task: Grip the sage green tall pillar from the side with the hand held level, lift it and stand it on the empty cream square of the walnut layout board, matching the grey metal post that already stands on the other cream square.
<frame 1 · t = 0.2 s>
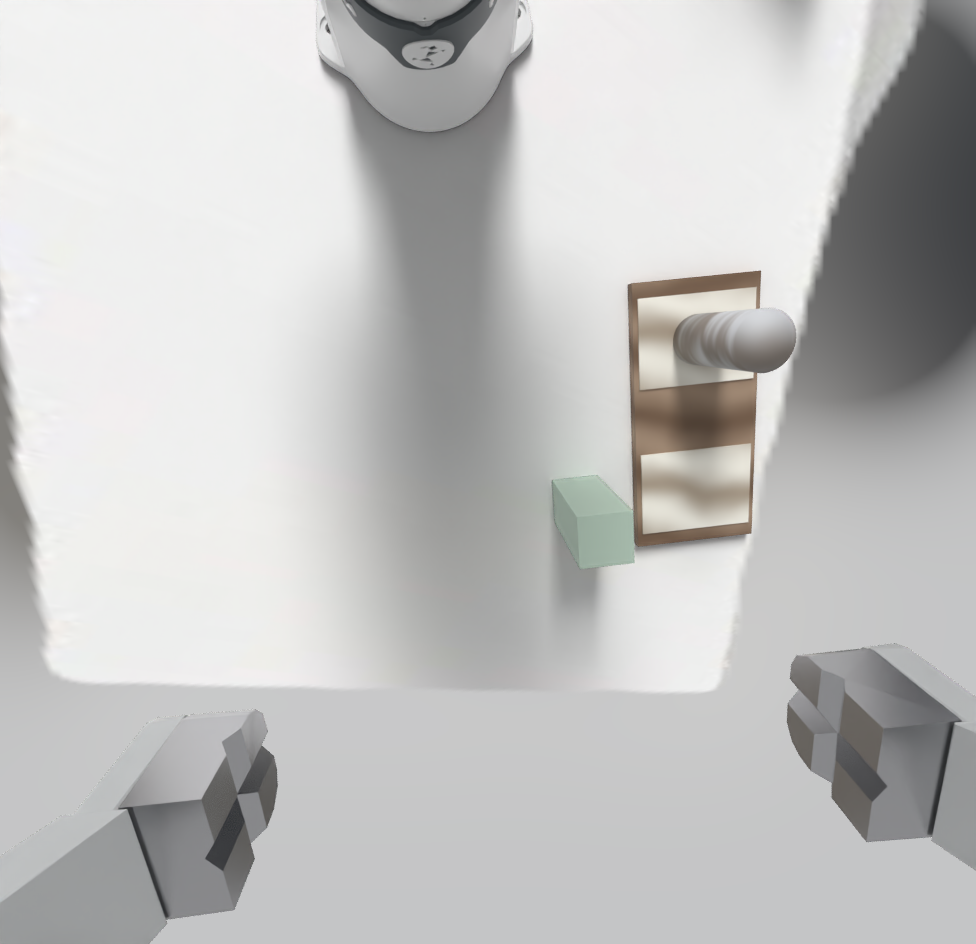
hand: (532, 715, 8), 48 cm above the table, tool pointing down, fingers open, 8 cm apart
layout board: (690, 415, 56), on the table
sage green tall pillar: (575, 499, 58), on the table
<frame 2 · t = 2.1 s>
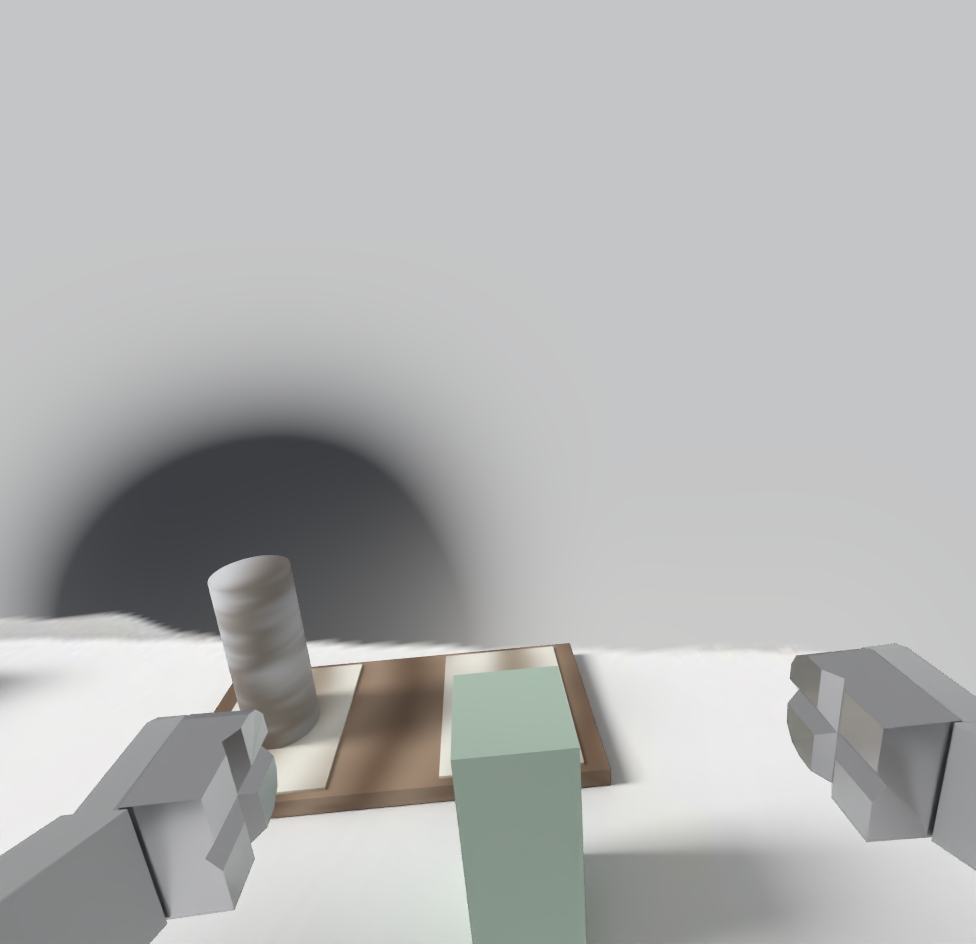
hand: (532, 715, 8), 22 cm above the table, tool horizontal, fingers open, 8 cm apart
layout board: (397, 727, 38), on the table
sage green tall pillar: (525, 909, 26), on the table
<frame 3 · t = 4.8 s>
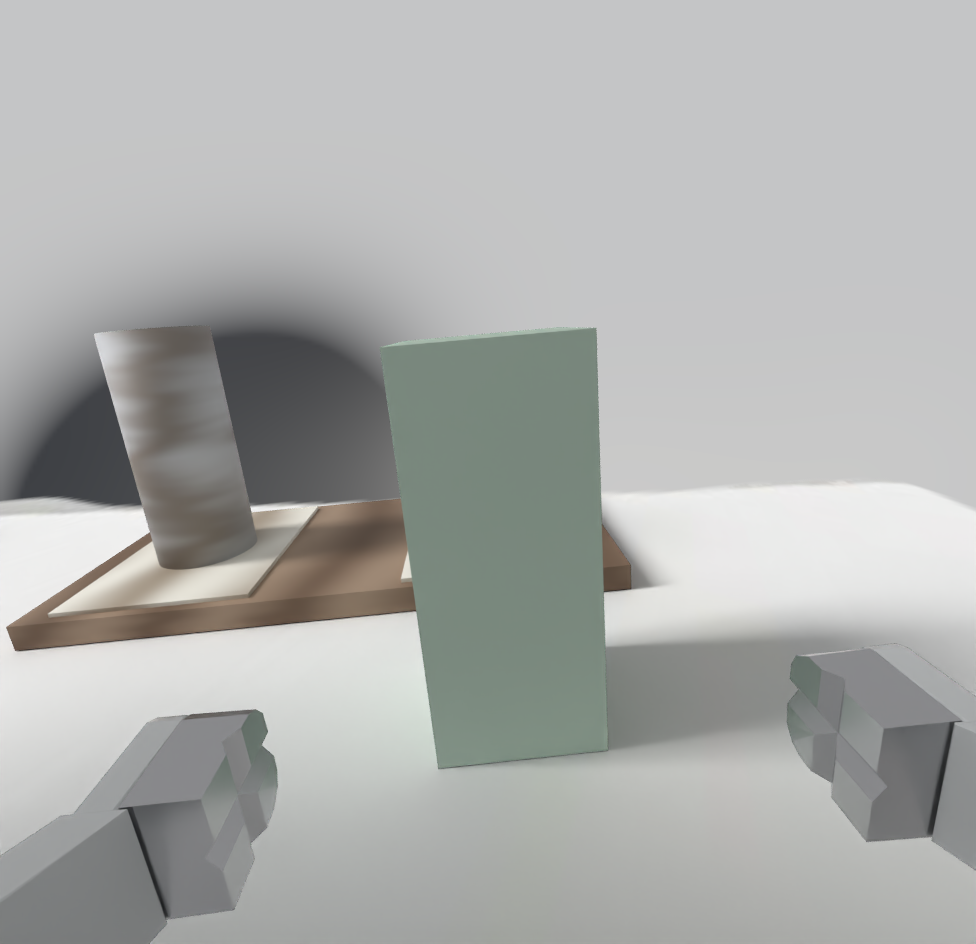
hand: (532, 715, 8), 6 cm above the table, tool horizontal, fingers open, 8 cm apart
layout board: (355, 557, 30), on the table
sage green tall pillar: (515, 700, 18), on the table
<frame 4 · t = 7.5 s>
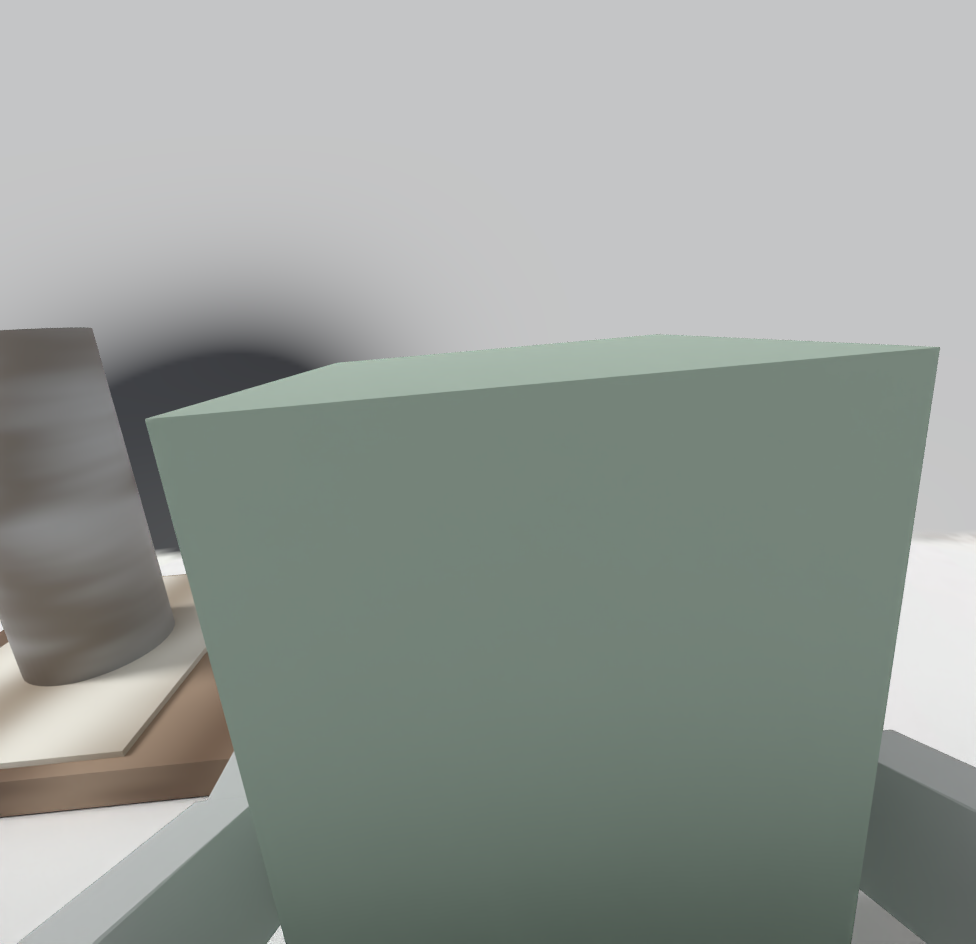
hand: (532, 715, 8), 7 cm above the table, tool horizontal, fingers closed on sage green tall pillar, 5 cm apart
layout board: (310, 654, 21), on the table
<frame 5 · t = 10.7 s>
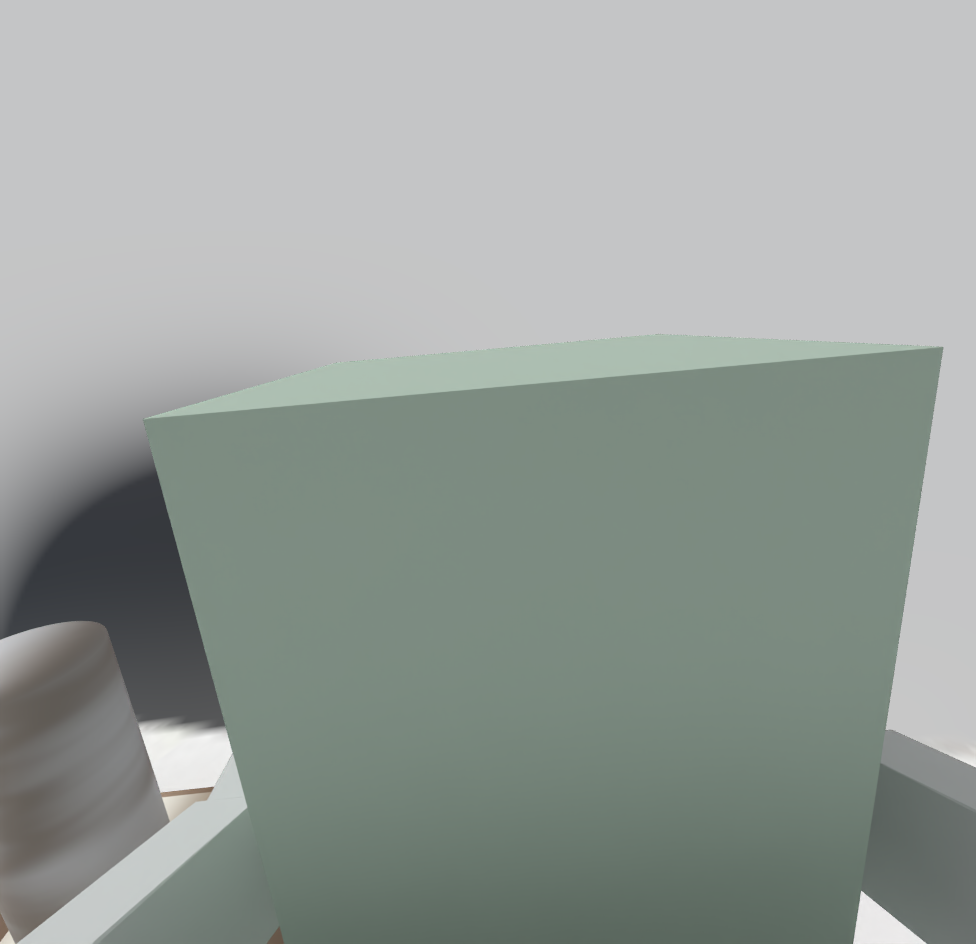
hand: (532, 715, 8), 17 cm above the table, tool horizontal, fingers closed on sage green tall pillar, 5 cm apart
layout board: (330, 928, 21), on the table
when the fingers open (9 cm above the table, at t = 14.0 s): sage green tall pillar drops 1 cm, resting on layout board.
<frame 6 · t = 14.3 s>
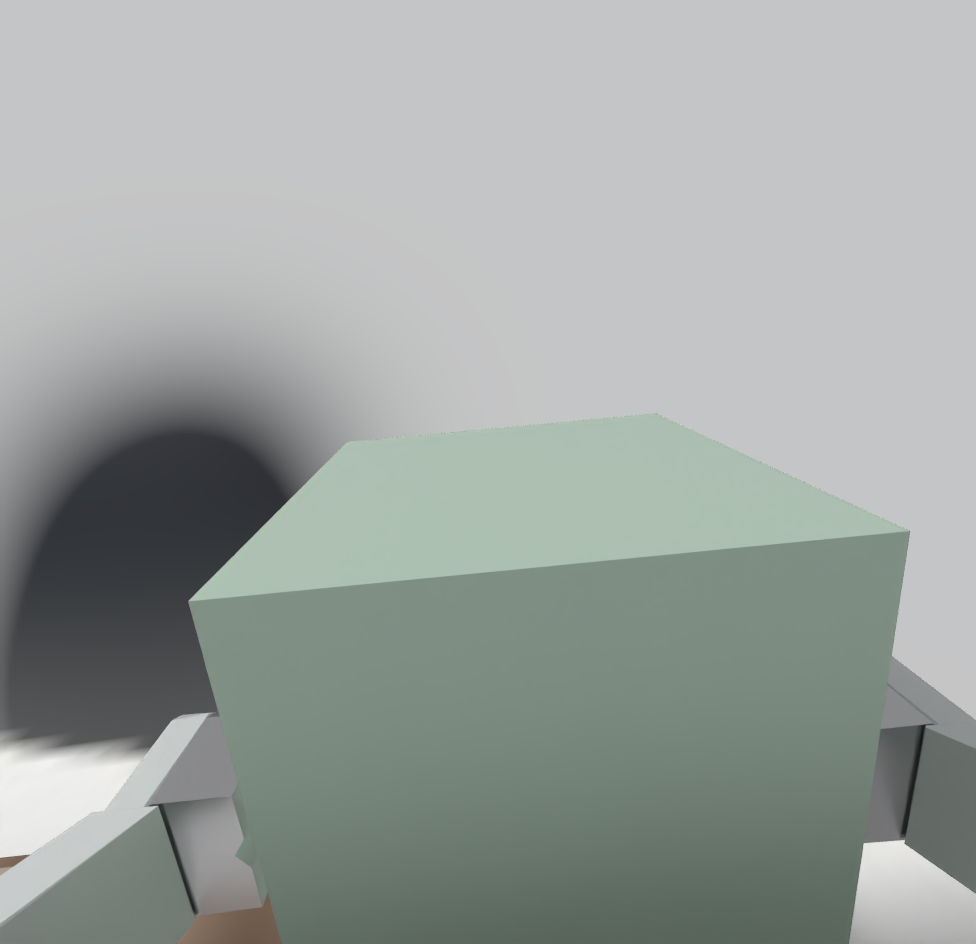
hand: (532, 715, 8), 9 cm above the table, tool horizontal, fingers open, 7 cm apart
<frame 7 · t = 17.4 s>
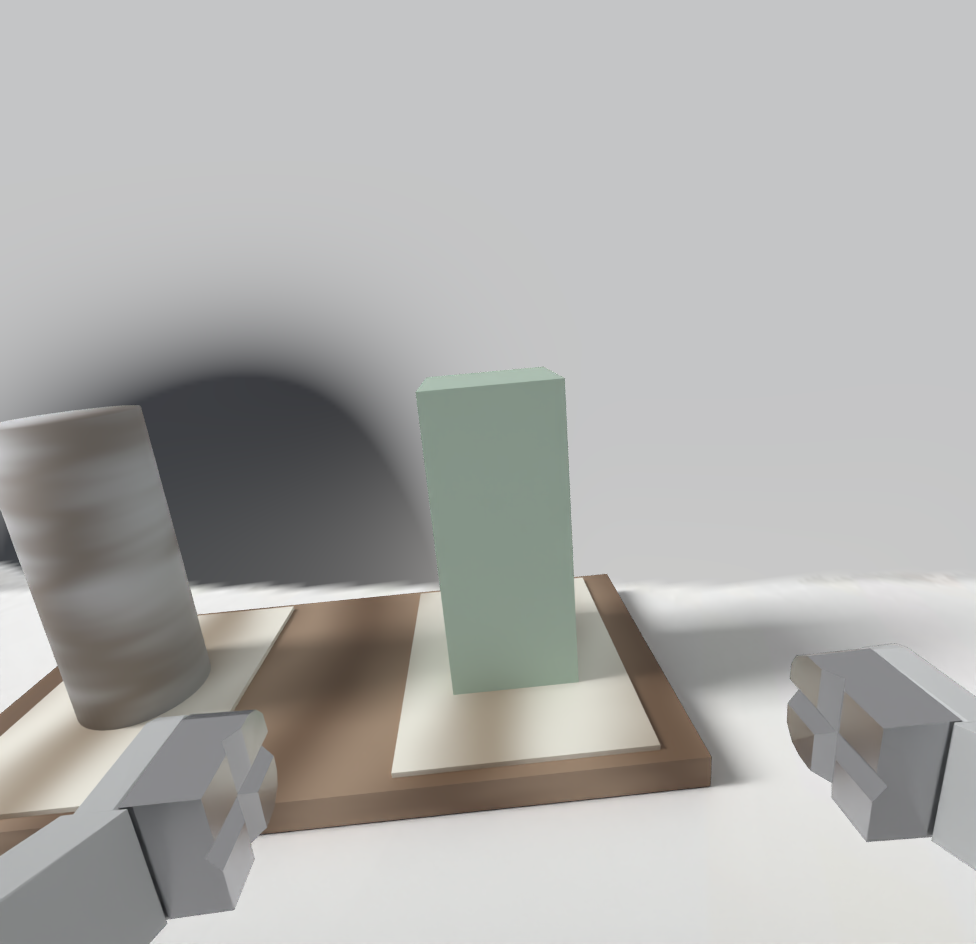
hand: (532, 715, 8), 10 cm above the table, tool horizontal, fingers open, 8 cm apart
layout board: (335, 695, 23), on the table
sage green tall pillar: (510, 650, 23), point 1 cm above the table, touching layout board
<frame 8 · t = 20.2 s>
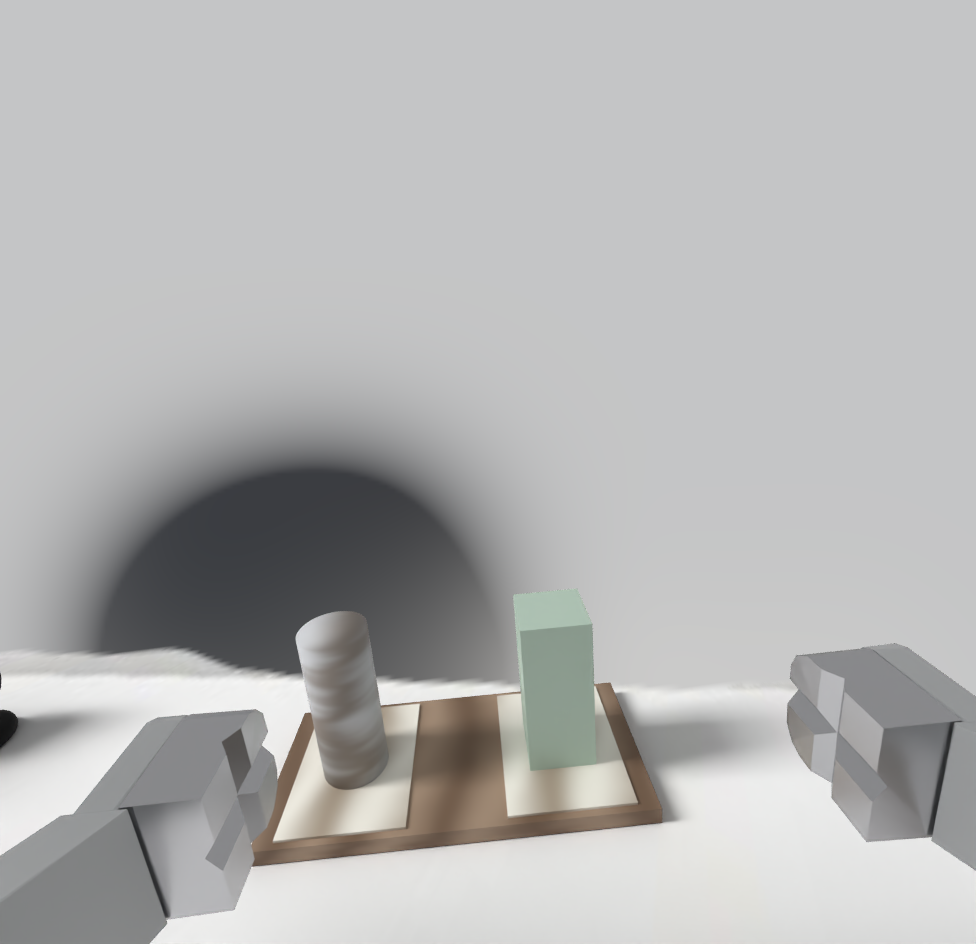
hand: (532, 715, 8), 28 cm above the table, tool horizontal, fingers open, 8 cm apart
layout board: (459, 766, 42), on the table
sage green tall pillar: (557, 741, 41), point 1 cm above the table, touching layout board
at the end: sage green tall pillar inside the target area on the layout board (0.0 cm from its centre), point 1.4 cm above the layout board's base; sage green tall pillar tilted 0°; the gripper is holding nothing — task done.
